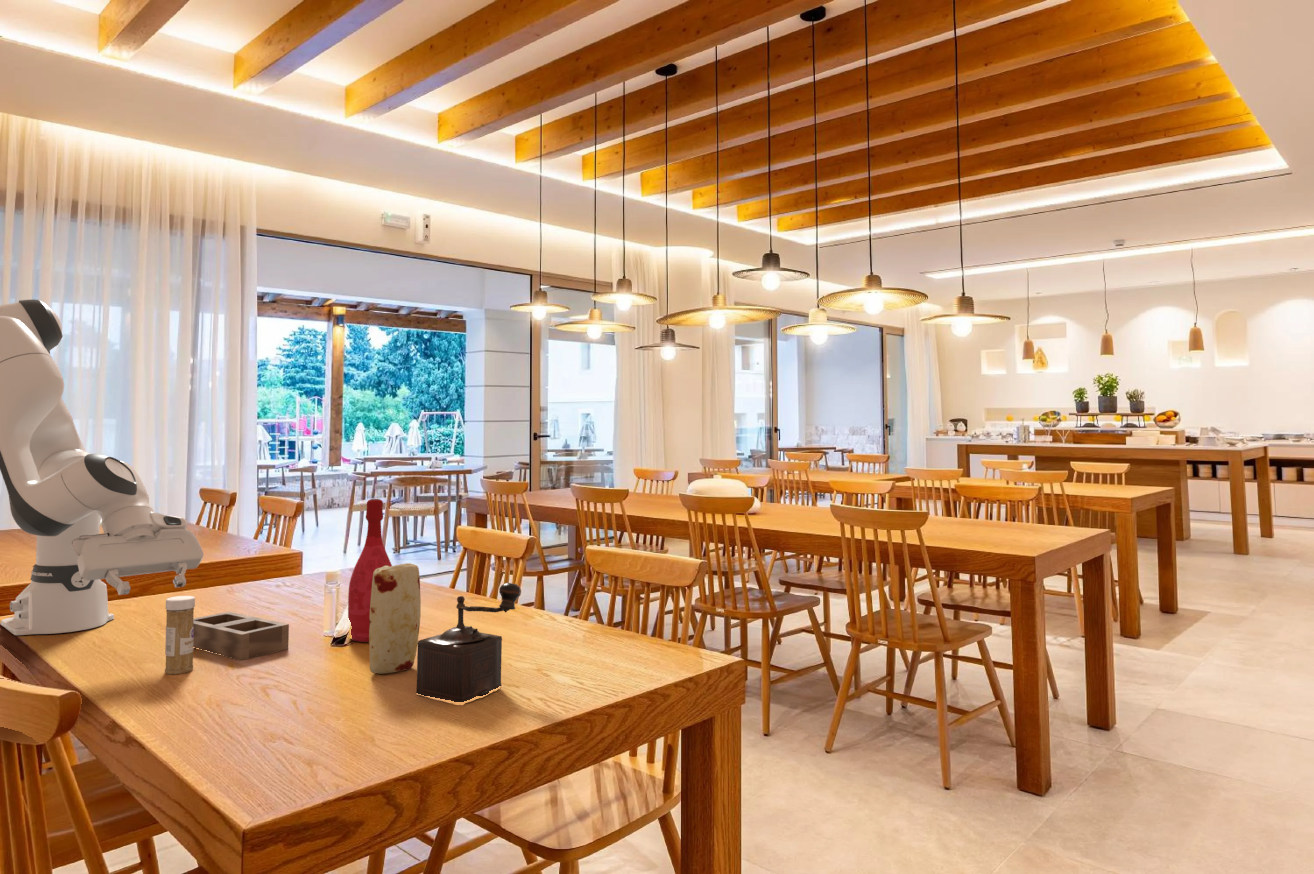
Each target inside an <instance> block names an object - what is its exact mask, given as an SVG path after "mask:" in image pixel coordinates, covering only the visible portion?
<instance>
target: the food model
mask: <svg viewBox="0 0 1314 874" xmlns="http://www.w3.org/2000/svg"><path fill="white" fill-rule="evenodd" d="M421 597H422V596H421V579H420V568H419V566H418V565H416V564H414V563H411V562H407V563H400V564H396V565H392V566H391V567H389V566H383V567H381V568H378V569H376V570H375V571H374V573H373V580H372V591H371V603H370V618H369V624H370V628H369V642H368V644H369V669H370V672H371V673H373V674H375V673H377V674H378V675H379V674H390V673H397V672H402V671H407V670H410V669H412V668H413V666H414V664H415V661H416V657H417V656H416V655H417V652H418V641H419V636H420V626H421V612H422V611H421V607H422V606H421V604H422V601H421Z"/></svg>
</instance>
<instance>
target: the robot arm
mask: <svg viewBox="0 0 1314 874" xmlns="http://www.w3.org/2000/svg"><path fill="white" fill-rule="evenodd" d="M63 336H64V335H63V327H62V323H61V320H60V318H59V316H58V315H57V313H56V311H54V310H53V309H52V308H51V307H49V306H48V305H47V303H45V302H44V301H42V300H40V299H22V300H19V301H18V302H13V303H5V304H0V474H1V477H2V479H3V481H4V485H5V487H6V490H7V495H8V499H9V500H8V501H9V508H10V513H11V516H12V518H13V520H14V522H15V523H16V525H17V526H18V527H19V528H20V529H21V530H22V531H23V532H25V533H26V534H29V535H34V536H36V550H35V552H36V554H35V556H36V557H35V564H34V565H32V570H31V573H30V580H31V582H30V583H29V584H28V586H26V587H25V588H24V589H23V590H22V591H21V592H20V593H19V594H18V595H17V596H16V597H15V600H11V601H10V602H9V610H10V612H13V613H14V615H13V616H10V617H8V618H7V617H5V618H3V619H1V620H0V625H1V626H2V627H4V629H6V630H7V631H8V632H10V633H11V634H13V635H14V636H25V635H26V636H27V635H29V636H30V635H48V634H49V635H51V634H62V633H72V632H78V631H85V630H90V629H94V628H97V627H101V626H103V625H105V624H106V623H107V622H109V621H111V620H114V619H115V614H114V613H111V612H110V613H109V603H108V600H109V599H108V588H107V587H108V586H107V584H109V585H110V586H112V587H113V588H114V589H116V591H117V594H118V596H121V595H122V596H123V595H128V594H130V591H131V585H130V582H129V581H128V580H127V581H123V579H121V577H131V576H138V575H147V574H148V575H149V574H157V573H165V572H175V574H176V575H175V576H174V579H173V580H172V583H173V585H174V588H176V589H177V588H184V587H185V586H186V585H187V584H186V583H187V579H186V577H185V574H186V571H187V570H194V569H196V568H198V566H199V565H200V564H201V562H202V560H203V558H204V551H203V548H202V546H201V544H200V542H199V539H198V538H197V536H196V535H195V534H194V532H193V531H191V530H190V529H188V528H187V526H188V521H187V519H185V518H184V517H180V516H174V515H167V514H163V513H159V512H156V511H154V509H153V507H151V506H150V505H151V504H150V497H149V494H148V491H147V490H146V486H145V485H144V483H143V481H142V479H141V477H140V476H139V474H138V473H137V471H136V470H135V469H134V467H133V466H132V465H131V464H129V463H127V462H126V461H123V460H119V459H117V458H115V457H112V456H108V455H104V454H100V453H90V452H87V451H86V450H85V447H84V445H83V443H82V440H81V438H80V436H79V435H80V434H79V433H78V430H77V429H76V426H75V423H74V419H73V416H72V415H71V413H70V410H69V409H68V407H67V405H66V404H65V402H64V400H63V398H62V396H63V394H64V389H65V382H64V377H63V376H62V373H61V371H60V369H59V367H58V365H57V364H56V362H55V360H54V359H53V357H52V356H51V350H53V349H54V348H55V347H57V346H58V345H59V344H60V342H61V340H62V338H63ZM100 527H101V528H102V531H103V533H100ZM102 580H105V582H106V583H107V584H106V583H105V582H104V581H102Z"/></svg>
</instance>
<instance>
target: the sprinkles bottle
mask: <svg viewBox="0 0 1314 874" xmlns="http://www.w3.org/2000/svg"><path fill="white" fill-rule="evenodd" d="M195 606H196V597H195V596H193V595H192V596H191V595H177V596H172V597H168V598H166V600H165V610H166V623H165V624H166V625H165V669H164V673H166V674H167V675H180V673H182V674H185V673H189V672H190V671H192V670H193V669H194V665H193V664H194V659H193V658H194V648H193V639H194V627H193V619H194V618H195V617H194V610H195Z"/></svg>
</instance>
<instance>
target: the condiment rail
mask: <svg viewBox="0 0 1314 874" xmlns="http://www.w3.org/2000/svg"><path fill="white" fill-rule="evenodd" d="M289 625H290V624H289V623H285V622H279V621H277V620H276V621H275V620H271V619H267V618H261V617H255V616H252V615H246V614H243V613H237V612H232V611H225V612H220V613H216V614H215V613H214V614H210V615H205V616H200V617H193V627H194V639H193V647H195V648H199V649H202V650H207V651H210V652H213V653H212V654H214V653H217V654H221V655H224V656H223V657H225V656H227V657H226V658H229V657H232V658H231V659H233V658H235V660H237V659H238V660H239V661H245V660H250V659H253V657H254V658H257V657H261V656H265V655H269V654H274V653H278V652H281V651H285V650H289V641H290V640H289V637H290V635H289V634H290V633H289V632H290V629H289V627H290V626H289ZM202 650H201V651H202ZM210 652H209V653H210ZM217 654H216V655H217ZM221 655H220V656H221ZM249 658H250V659H249Z"/></svg>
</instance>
